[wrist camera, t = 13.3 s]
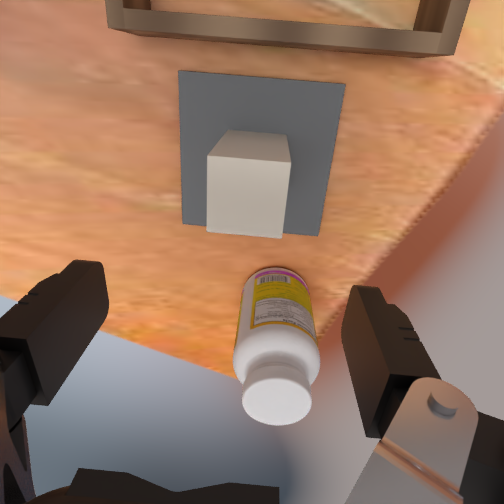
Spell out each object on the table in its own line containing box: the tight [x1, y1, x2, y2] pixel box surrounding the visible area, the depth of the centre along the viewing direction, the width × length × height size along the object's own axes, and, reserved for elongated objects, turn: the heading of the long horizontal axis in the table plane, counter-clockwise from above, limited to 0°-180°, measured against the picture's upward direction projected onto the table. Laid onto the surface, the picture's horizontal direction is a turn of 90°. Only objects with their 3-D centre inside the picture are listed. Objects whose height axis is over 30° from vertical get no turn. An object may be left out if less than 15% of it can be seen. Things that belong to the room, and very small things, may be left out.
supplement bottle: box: [233, 268, 320, 425], centre depth 28 cm, size 7×7×13 cm
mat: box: [178, 71, 346, 236], centre depth 27 cm, size 12×12×1 cm
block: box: [207, 130, 291, 239], centre depth 23 cm, size 4×4×9 cm
